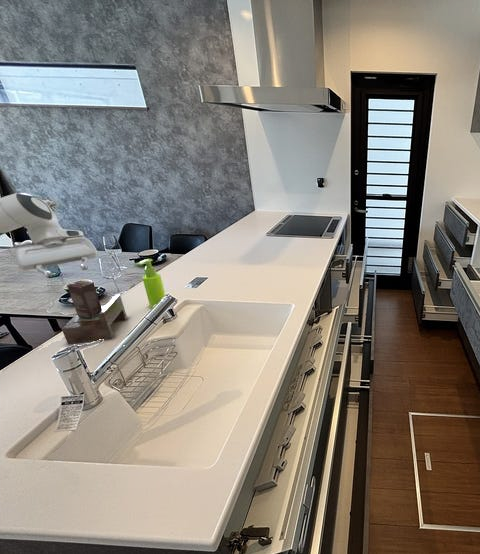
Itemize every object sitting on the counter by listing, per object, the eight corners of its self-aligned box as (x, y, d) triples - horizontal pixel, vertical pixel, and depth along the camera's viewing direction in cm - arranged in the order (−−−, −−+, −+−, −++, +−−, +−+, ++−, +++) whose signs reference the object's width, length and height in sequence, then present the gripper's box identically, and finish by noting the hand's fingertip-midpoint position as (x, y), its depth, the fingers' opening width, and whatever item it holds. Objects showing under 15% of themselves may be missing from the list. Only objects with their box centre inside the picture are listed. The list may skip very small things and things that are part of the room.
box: (104, 313, 106) (94, 282, 101) (91, 320, 102) (79, 287, 97) (91, 310, 107) (80, 279, 102) (77, 317, 103) (64, 285, 98)
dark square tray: (67, 344, 99) (56, 318, 95) (88, 322, 111) (79, 298, 107) (112, 338, 103) (103, 313, 99) (127, 318, 115) (120, 294, 111)
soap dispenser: (144, 308, 122) (131, 262, 114) (159, 300, 128) (147, 256, 120) (156, 310, 121) (144, 264, 113) (170, 303, 127) (160, 258, 119)
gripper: (5, 241, 97) (23, 277, 96) (87, 230, 113) (104, 261, 111) (8, 251, 101) (26, 286, 100) (87, 239, 117) (103, 269, 115)
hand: (67, 272), depth 106 cm, fingers open, 8 cm apart
